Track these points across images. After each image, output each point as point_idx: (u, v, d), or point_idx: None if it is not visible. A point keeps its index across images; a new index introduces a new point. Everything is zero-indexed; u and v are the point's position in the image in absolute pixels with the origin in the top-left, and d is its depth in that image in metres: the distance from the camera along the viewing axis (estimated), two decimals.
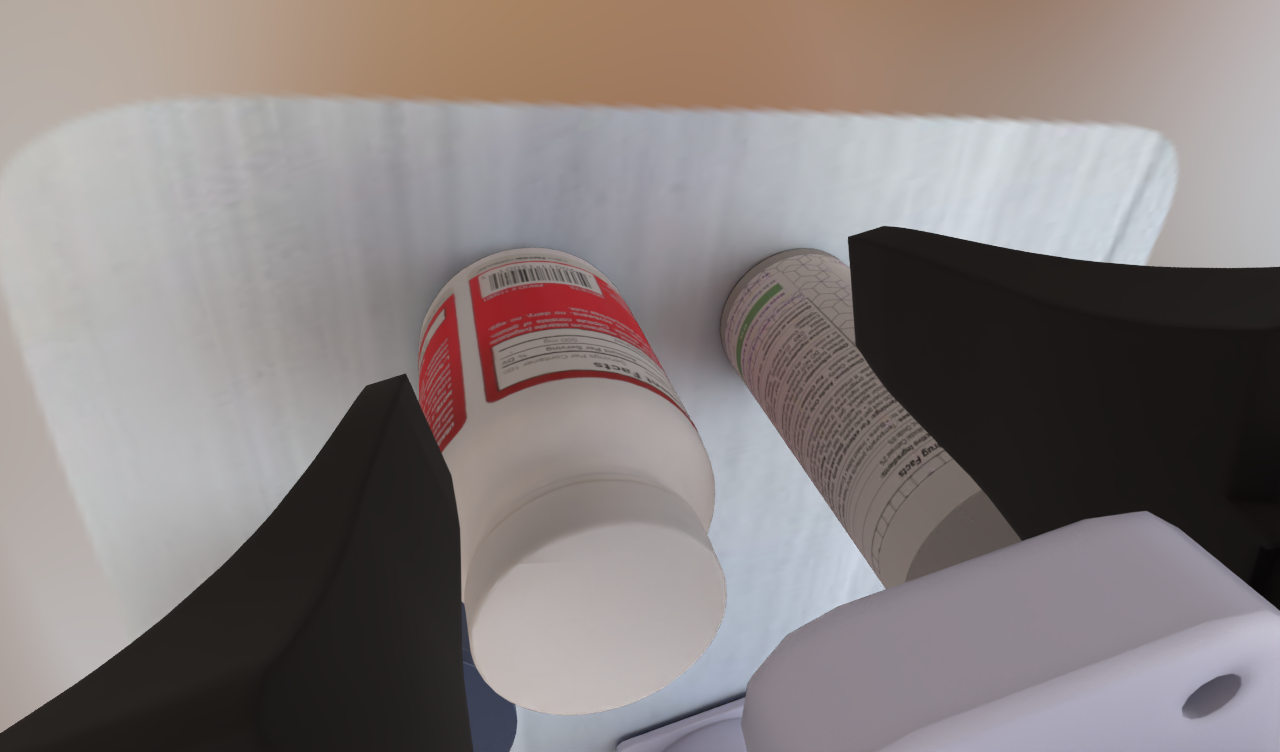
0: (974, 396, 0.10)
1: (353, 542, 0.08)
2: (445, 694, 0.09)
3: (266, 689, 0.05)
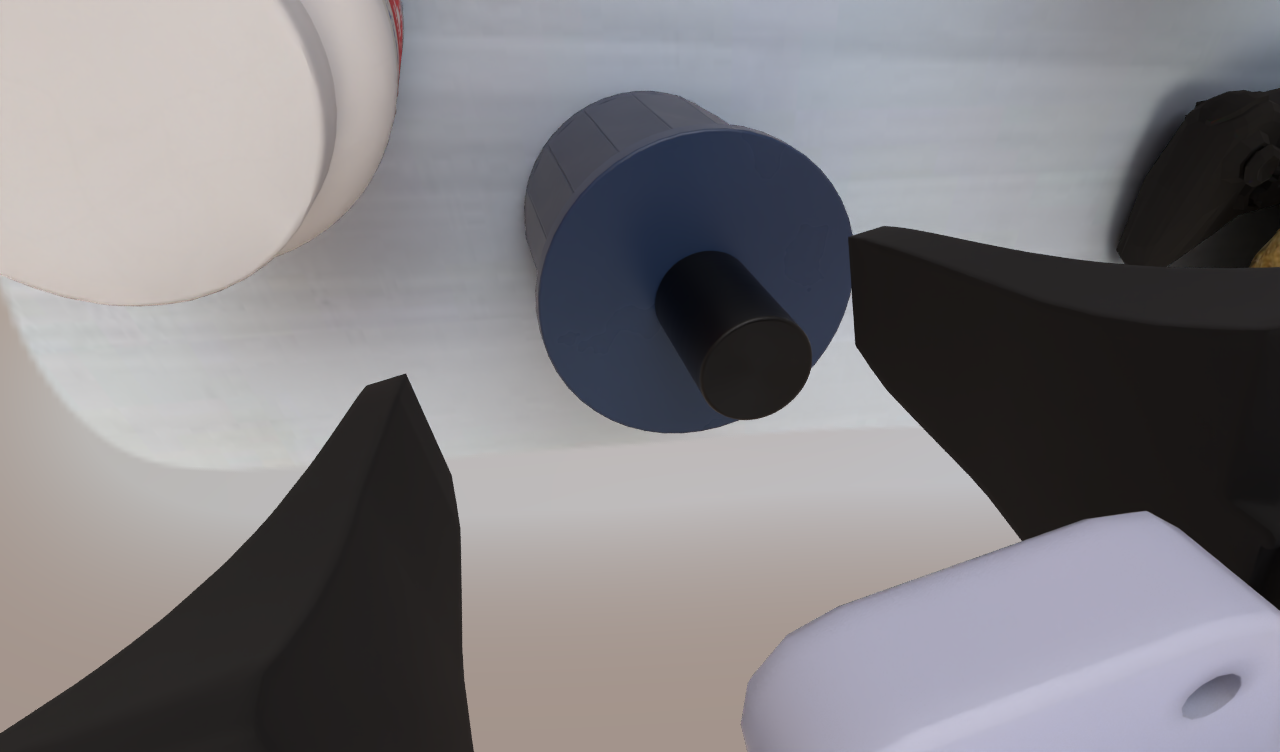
0: (974, 396, 0.10)
1: (352, 542, 0.08)
2: (445, 695, 0.09)
3: (266, 690, 0.05)
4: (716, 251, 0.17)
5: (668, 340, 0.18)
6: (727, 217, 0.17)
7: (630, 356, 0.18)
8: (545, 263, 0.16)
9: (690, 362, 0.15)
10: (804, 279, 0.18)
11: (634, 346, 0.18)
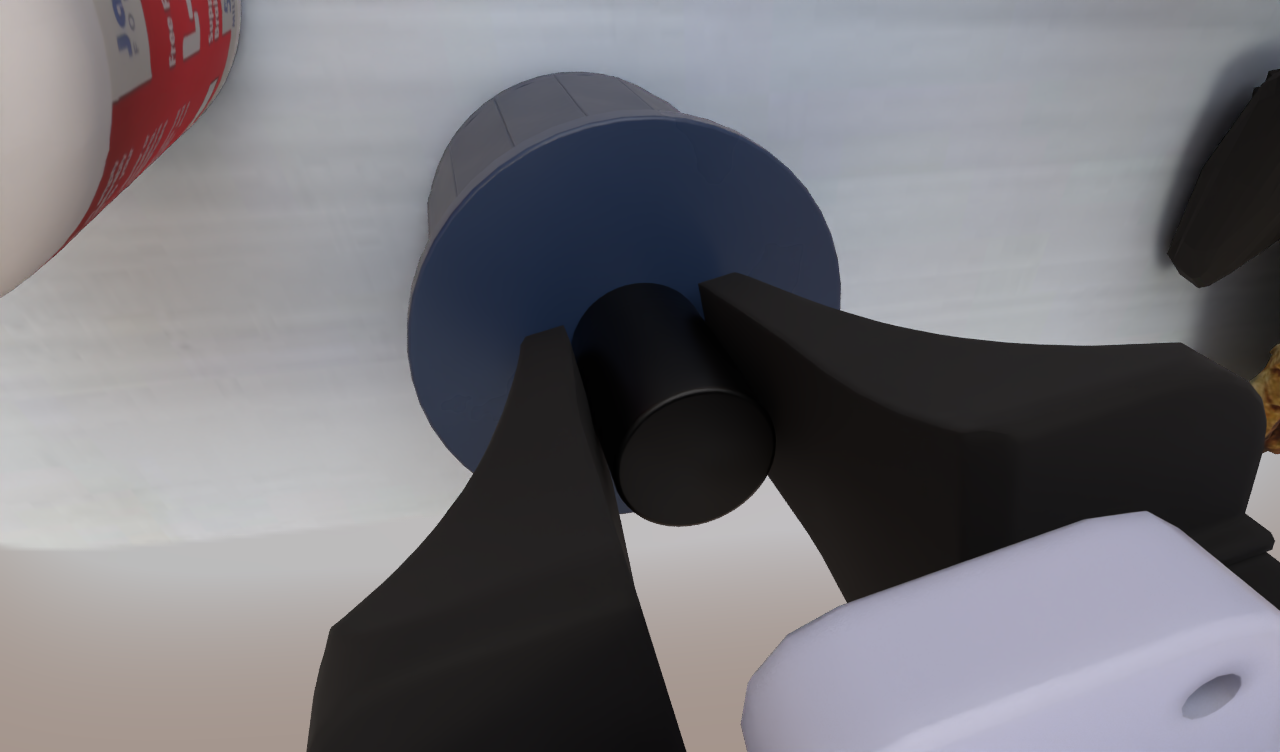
0: (798, 454, 0.10)
1: None
2: None
3: None
4: (650, 283, 0.12)
5: None
6: (663, 237, 0.12)
7: None
8: (412, 307, 0.12)
9: (603, 448, 0.11)
10: None
11: None
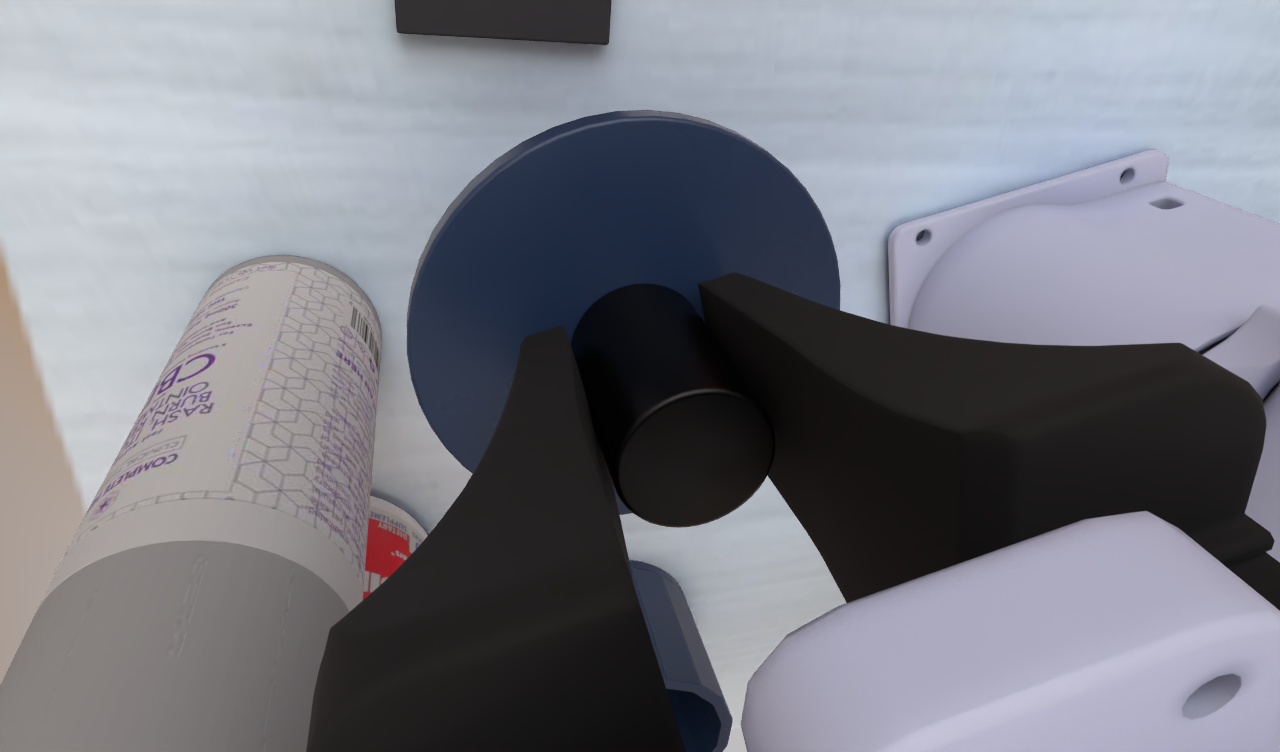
0: (798, 455, 0.10)
1: None
2: None
3: None
4: (650, 283, 0.12)
5: None
6: (662, 238, 0.12)
7: None
8: (412, 308, 0.12)
9: (603, 449, 0.11)
10: None
11: None
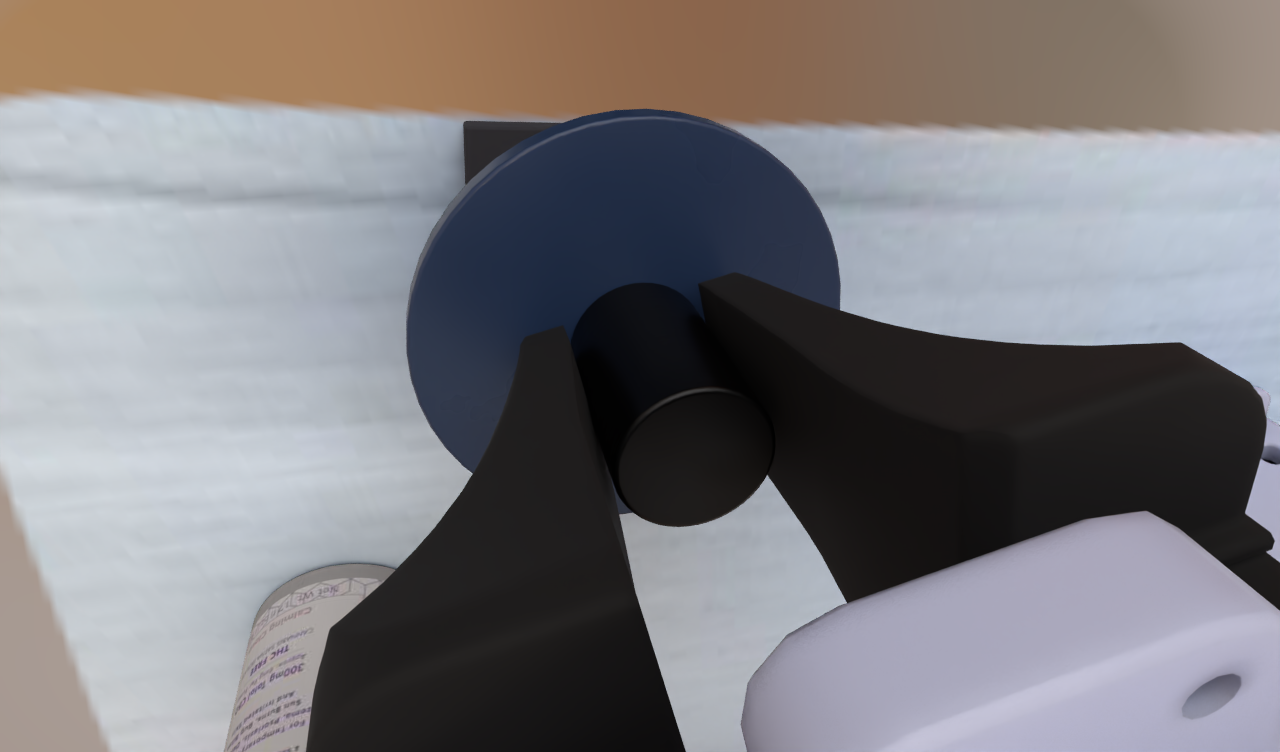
0: (798, 454, 0.10)
1: (593, 463, 0.08)
2: None
3: None
4: (650, 283, 0.12)
5: None
6: (662, 237, 0.12)
7: None
8: (411, 307, 0.12)
9: (603, 448, 0.10)
10: None
11: None
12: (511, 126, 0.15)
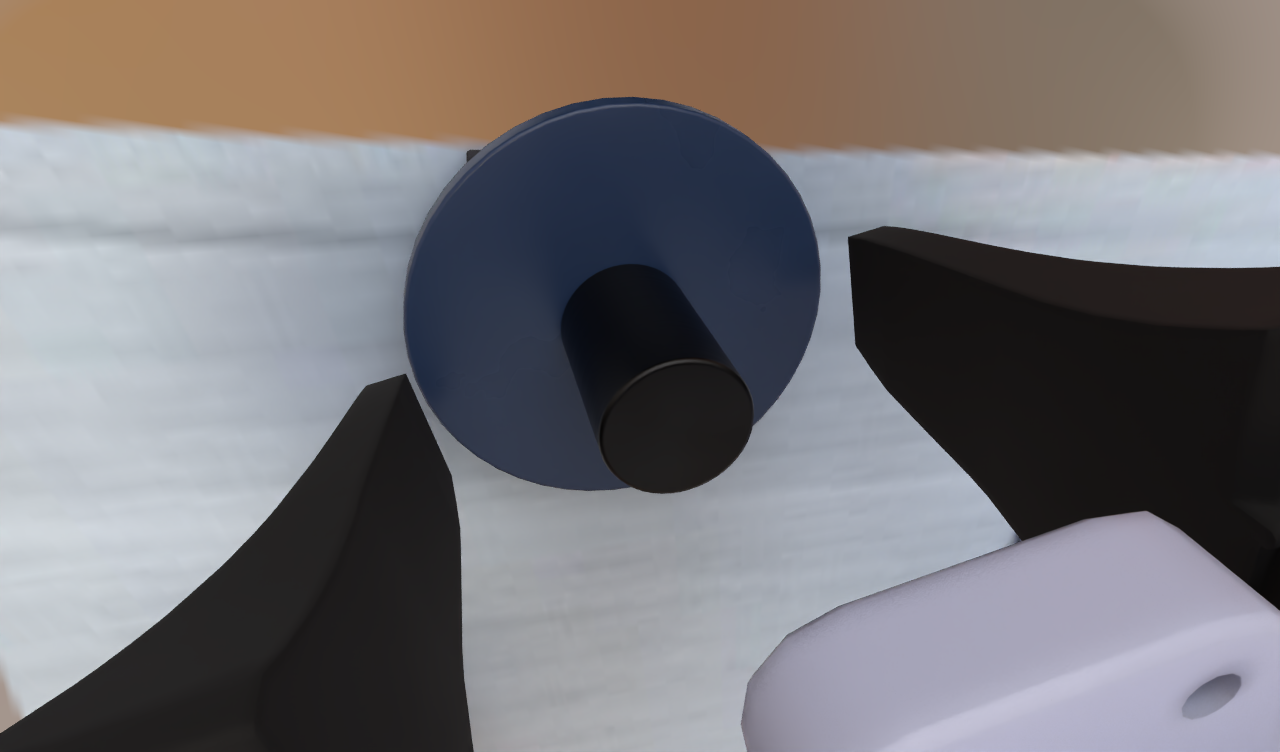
0: (974, 396, 0.10)
1: (353, 542, 0.08)
2: (445, 694, 0.09)
3: (267, 689, 0.05)
4: (636, 263, 0.13)
5: None
6: (648, 220, 0.13)
7: (535, 400, 0.14)
8: (408, 286, 0.12)
9: (590, 419, 0.11)
10: (755, 297, 0.14)
11: (539, 387, 0.14)
12: None
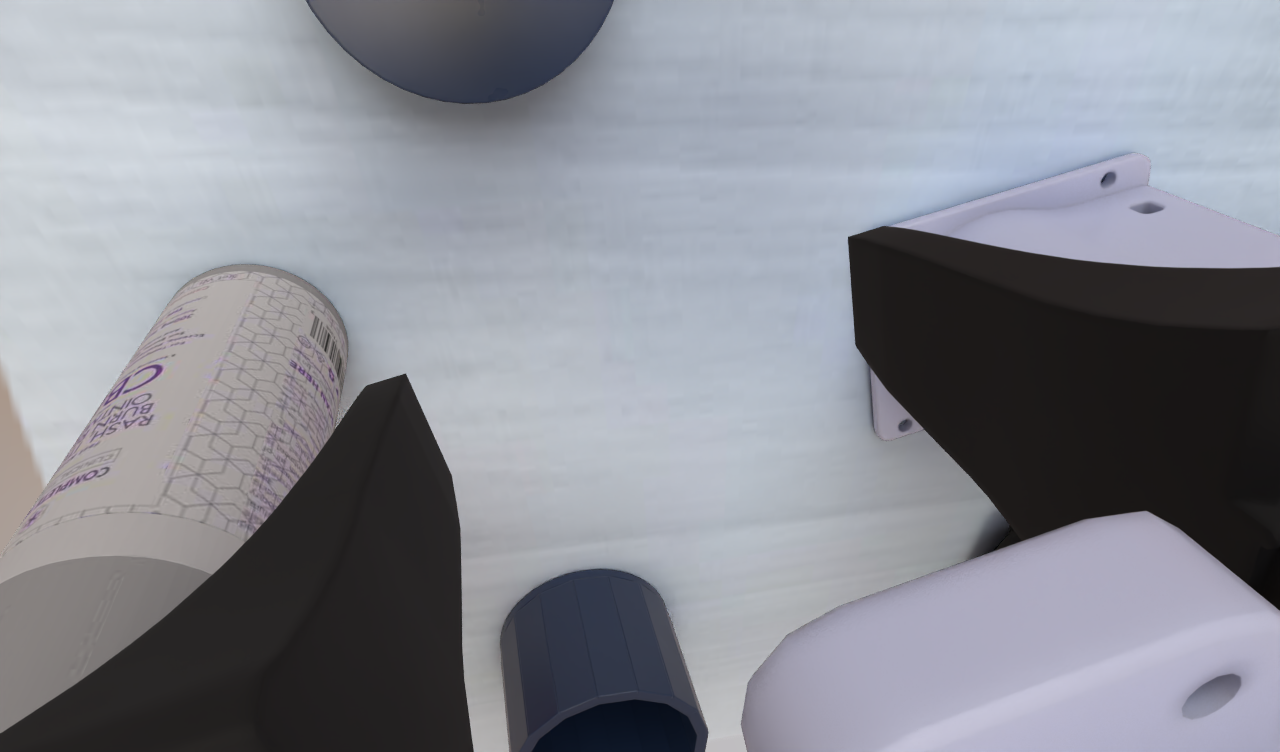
0: (974, 396, 0.10)
1: (352, 541, 0.08)
2: (445, 694, 0.09)
3: (266, 689, 0.05)
4: None
5: None
6: None
7: None
8: None
9: None
10: None
11: None
12: None
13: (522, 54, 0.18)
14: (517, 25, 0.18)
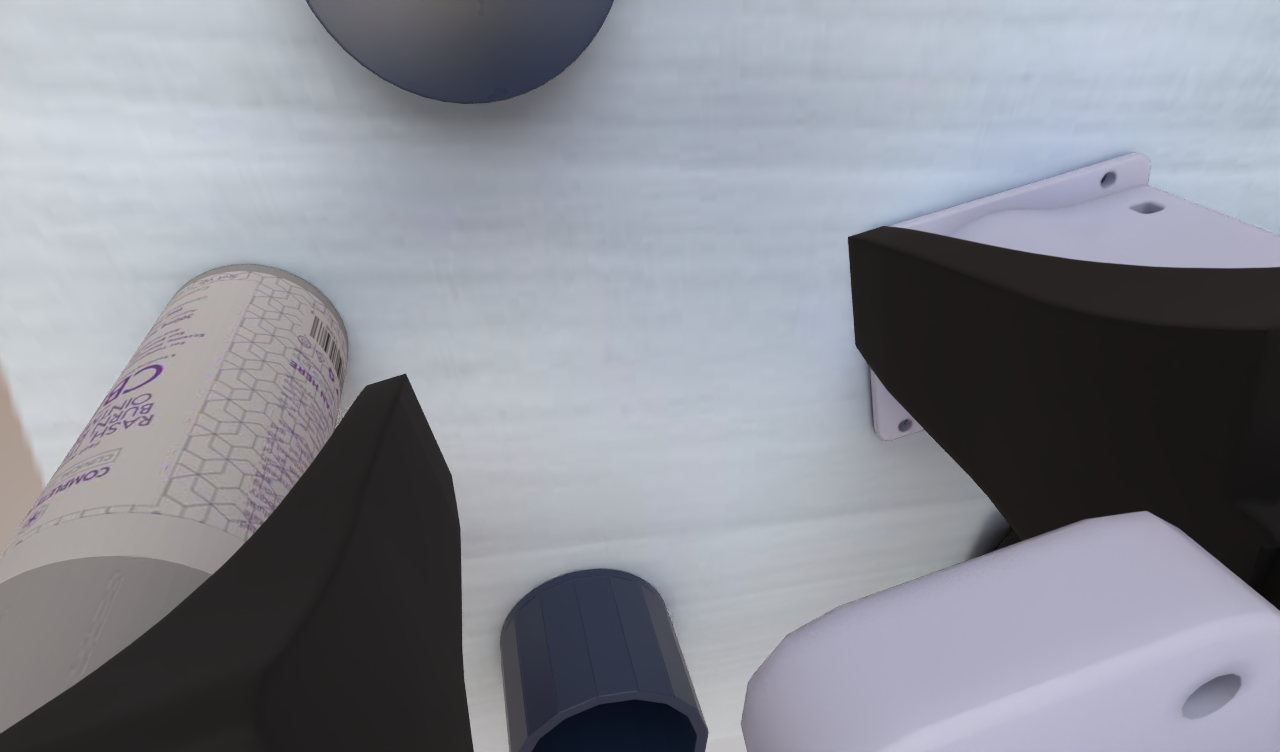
0: (974, 396, 0.10)
1: (352, 541, 0.08)
2: (445, 694, 0.09)
3: (266, 689, 0.05)
4: None
5: None
6: None
7: None
8: None
9: None
10: None
11: None
12: None
13: (522, 54, 0.18)
14: (517, 25, 0.18)
